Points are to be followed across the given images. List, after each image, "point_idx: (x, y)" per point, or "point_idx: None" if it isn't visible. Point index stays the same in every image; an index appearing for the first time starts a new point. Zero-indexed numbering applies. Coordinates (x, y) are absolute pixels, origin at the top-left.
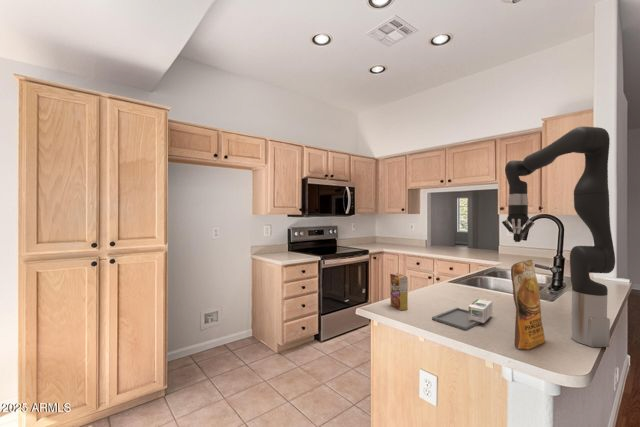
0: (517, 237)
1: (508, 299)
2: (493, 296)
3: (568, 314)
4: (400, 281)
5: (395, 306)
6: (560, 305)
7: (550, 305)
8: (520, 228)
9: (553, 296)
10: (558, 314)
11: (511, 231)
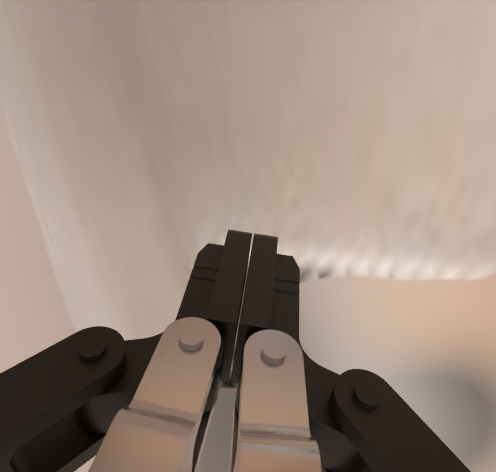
0: (231, 274)
1: (339, 183)
2: (402, 189)
3: (117, 121)
4: None
5: None
6: (171, 224)
7: (195, 202)
8: (118, 418)
9: None
10: (140, 92)
11: (337, 377)
